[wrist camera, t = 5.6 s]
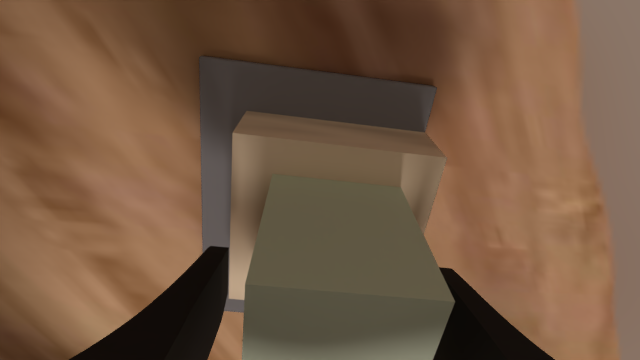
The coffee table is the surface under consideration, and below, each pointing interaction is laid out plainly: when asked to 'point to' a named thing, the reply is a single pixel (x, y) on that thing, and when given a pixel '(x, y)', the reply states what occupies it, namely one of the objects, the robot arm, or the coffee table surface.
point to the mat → (291, 100)
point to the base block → (321, 169)
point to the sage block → (341, 276)
